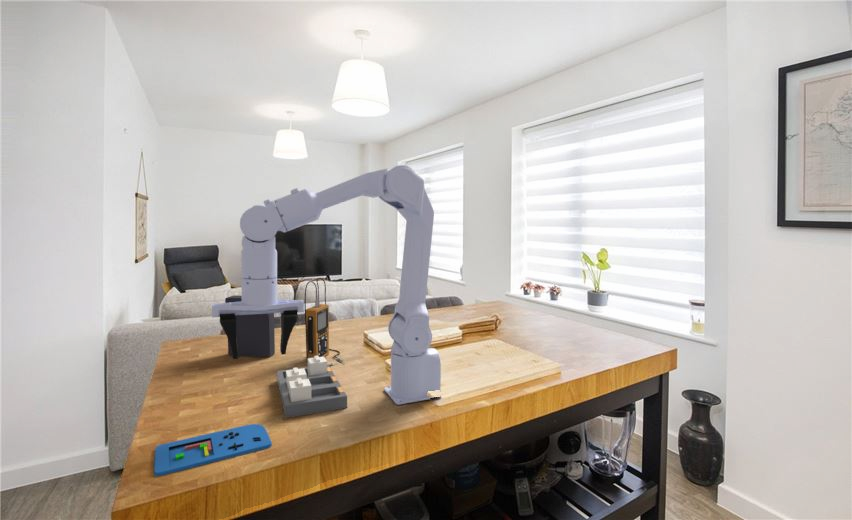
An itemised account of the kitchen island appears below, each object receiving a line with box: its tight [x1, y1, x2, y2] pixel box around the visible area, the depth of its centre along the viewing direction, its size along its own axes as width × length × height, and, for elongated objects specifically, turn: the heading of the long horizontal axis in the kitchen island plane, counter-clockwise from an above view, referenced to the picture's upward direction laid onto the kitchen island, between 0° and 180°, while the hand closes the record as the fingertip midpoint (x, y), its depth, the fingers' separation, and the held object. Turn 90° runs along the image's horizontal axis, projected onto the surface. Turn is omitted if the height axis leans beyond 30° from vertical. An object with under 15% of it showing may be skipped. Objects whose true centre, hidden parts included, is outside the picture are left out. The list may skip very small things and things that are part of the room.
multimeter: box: [304, 277, 347, 367], centre depth 102 cm, size 15×10×20 cm
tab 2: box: [289, 378, 311, 403], centre depth 76 cm, size 4×4×4 cm
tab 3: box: [307, 356, 328, 376], centre depth 89 cm, size 4×4×4 cm
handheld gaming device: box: [153, 423, 273, 477], centre depth 62 cm, size 8×1×15 cm
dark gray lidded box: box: [224, 295, 276, 358], centre depth 105 cm, size 11×4×15 cm, turn 84°
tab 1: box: [286, 366, 307, 390], centre depth 81 cm, size 4×4×4 cm
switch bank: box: [276, 365, 348, 419], centre depth 82 cm, size 11×18×2 cm, turn 24°
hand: (259, 355), depth 72 cm, fingers open, 7 cm apart
